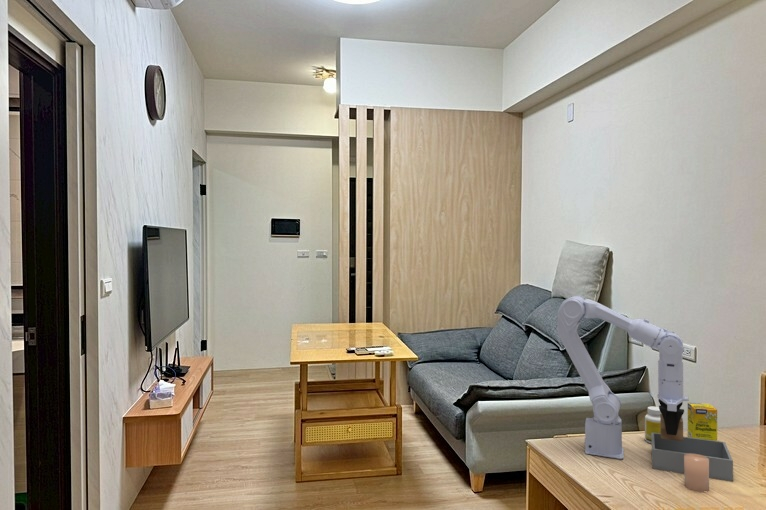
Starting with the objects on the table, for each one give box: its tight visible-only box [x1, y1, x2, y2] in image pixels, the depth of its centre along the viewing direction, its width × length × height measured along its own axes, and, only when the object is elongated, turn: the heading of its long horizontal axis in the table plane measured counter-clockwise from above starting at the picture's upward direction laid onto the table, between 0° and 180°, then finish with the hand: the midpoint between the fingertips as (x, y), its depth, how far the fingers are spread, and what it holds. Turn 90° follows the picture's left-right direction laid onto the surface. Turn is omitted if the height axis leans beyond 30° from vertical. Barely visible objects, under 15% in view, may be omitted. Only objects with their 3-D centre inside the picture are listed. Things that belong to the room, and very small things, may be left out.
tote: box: [651, 432, 734, 482], centre depth 134 cm, size 17×13×5 cm
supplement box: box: [687, 402, 718, 441], centre depth 148 cm, size 6×6×11 cm
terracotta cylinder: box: [683, 453, 710, 493], centre depth 121 cm, size 5×5×7 cm
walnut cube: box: [660, 414, 684, 441], centre depth 135 cm, size 5×5×5 cm
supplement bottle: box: [644, 405, 662, 445], centre depth 149 cm, size 5×5×10 cm
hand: (671, 430), depth 135 cm, fingers closed on walnut cube, 5 cm apart
